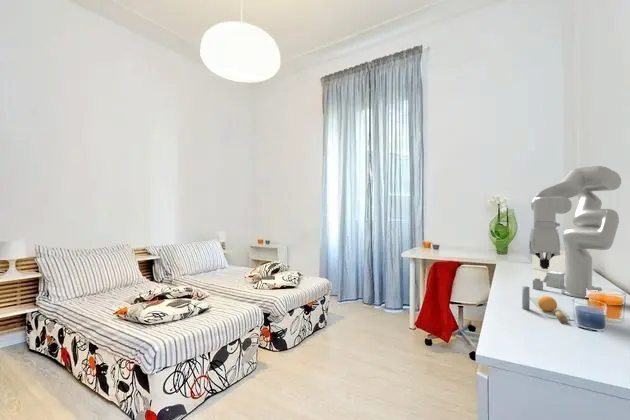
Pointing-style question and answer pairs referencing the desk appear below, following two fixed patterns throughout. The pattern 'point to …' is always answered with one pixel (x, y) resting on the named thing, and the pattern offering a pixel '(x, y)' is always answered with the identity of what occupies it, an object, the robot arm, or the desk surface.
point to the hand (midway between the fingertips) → (544, 268)
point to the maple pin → (560, 316)
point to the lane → (549, 314)
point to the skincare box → (555, 279)
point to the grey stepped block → (539, 283)
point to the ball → (547, 303)
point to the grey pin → (525, 298)
